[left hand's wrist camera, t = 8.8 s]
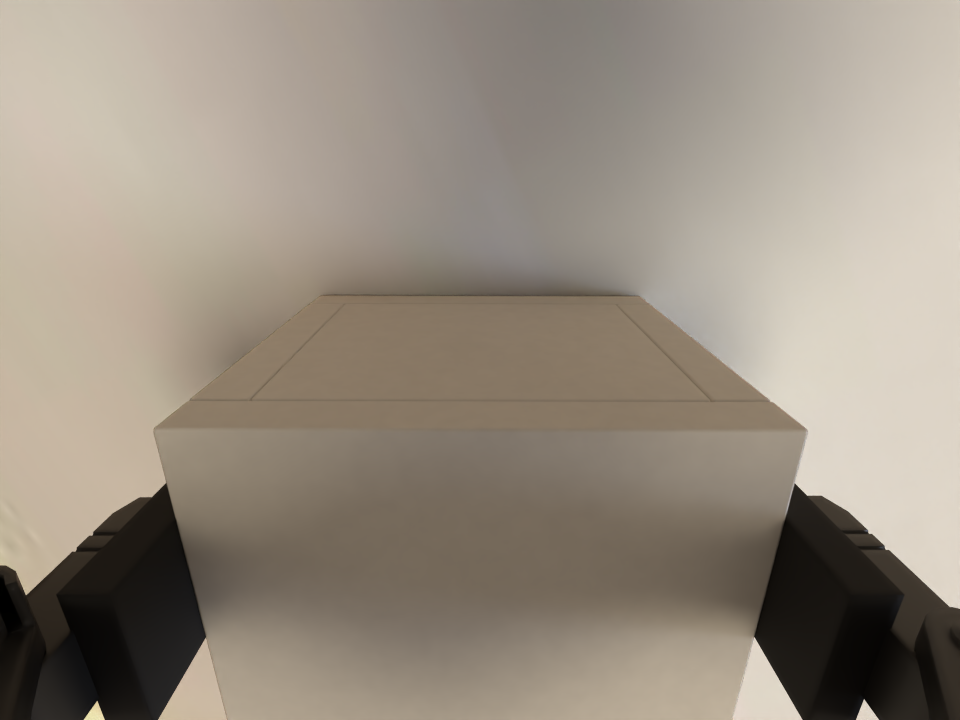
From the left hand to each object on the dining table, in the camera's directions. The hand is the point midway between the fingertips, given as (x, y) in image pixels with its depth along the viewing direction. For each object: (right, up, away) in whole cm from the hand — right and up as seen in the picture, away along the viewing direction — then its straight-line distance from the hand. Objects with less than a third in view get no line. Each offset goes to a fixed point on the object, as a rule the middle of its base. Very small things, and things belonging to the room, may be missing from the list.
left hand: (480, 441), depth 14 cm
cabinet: (0, -4, +6) cm, 7 cm away
